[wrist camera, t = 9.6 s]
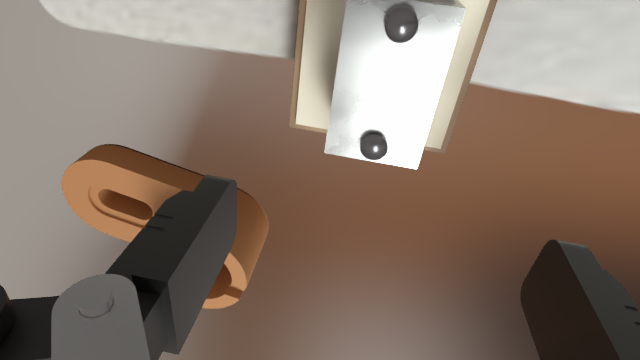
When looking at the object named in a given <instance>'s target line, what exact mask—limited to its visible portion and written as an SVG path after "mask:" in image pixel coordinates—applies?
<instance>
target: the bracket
mask: <svg viewBox="0 0 640 360" xmlns="http://www.w3.org/2000/svg"><path fill="white" fill-rule="evenodd" d="M204 176H205V175H202V174H199V173H197V172H194V171H191V170H188V169H186V168H183V167H180V166H178V165H175V164H172V163H169V162H167V161H164V160H161V159H158V158H156V157H153V156H150V155H148V154H145V153H142V152H139V151H137V150H134V149H131V148H128V147H125V146H122V145H117V144H104V145H100V146H97V147H95V148H93V149H91V150H90V151H89V152H87V153H86V154H85V155H83V156H82V157H81V158H79V159H78V160H77V161H75V162H74V163H73V164H72V165H70V166H69V167H68V168H67V169H66V170H65V172H64V174H63V177H62V190H63V193H64V196H65V199H66V201H67V202H68V204H69V206H70V207H71V208H72V210H73V211H74V212H75V213H76V214H77V215H78V216H79V217H80V218H81V219H82V220H83V221H84V222H86V223H87V224H88V225H90V226H91V227H93V228H95V229H97V230H99V231H101V232H103V233H105V234H108V235H111V236H114V237H117V238H120V239H122V240H125V241H128V242H132V240H133V239H134V238H135V237H136V235H137V234H138V233H139V232H140V231H141V229H142V228H145V225H146V223H147V222H148V221H149V220H150V218H151V217H152V216H153V217H154V214H155V212H156V211H157V210H158V209H159V208H160V206H161V205H162V204H163V203H164V202H165V200H167V199H168V198H170V197H172V196H174V195H175V194H177V193H179V192H180V191H182V190H186V191H191V192H193V191H194V190H195V188H196V187H197V186H198V184H199V183H200V182H201V180H202V179H203V178H204ZM267 232H268V219H267V216H266V213H265V211H264V210H263V208H262V206H261V205H260V204H259V203H258V201H256V199H255V198H253V197H252V196H251V195H250V194H248V193H247V192H245V191H243V190H242V189H239V188H237V230H236V236H235V240H234V243H233V246H232V248H231V250H230V252H229V254H228V256H227V258H226V260H225V262H224V264H223V266H222V268H221V270H220V272H219V274H218V276H217V278H216V280H215V282H214V284H213V286H212V288H211V290H210V292H209V294H208V296H207V298H206V300H205V302H204V304H203V306H202V308H209V309H216V308H223V307H227V306H230V305H232V304H234V303H236V302H237V301H238V300H239V299H240V297H241V294H242V292H243V291H244V290H245V289H246V287H247V284H248V282H249V279H250V277H251V274H252V271H253V269H254V266H255V264H256V261H257V259H258V256H259V253H260V251H261V248H262V246H263V243H264V241H265V238H266V235H267Z"/></svg>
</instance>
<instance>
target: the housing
mask: <svg viewBox="0 0 640 360" xmlns="http://www.w3.org/2000/svg"><path fill="white" fill-rule="evenodd" d="M465 11H466V8H465V7H464V6H463V5H462V4H461V3H460V2H459V0H347V1H346V8H345V14H344V21H343V28H342V35H341V42H340V49H339V56H338V62H337V69H336V76H335V83H334V90H333V97H332V104H331V110H330V117H329V124H328V131H327V138H326V145H325V153H328V154H333V155H339V156H345V157H350V158H356V159H362V160H367V161H373V162H378V163H384V164H390V165H395V166H401V167H407V168H412V169H417V168H418V164H419V161H420V158H421V155H422V152H423V148H424V145H425V142H426V138H427V135H428V132H429V129H430V125H431V122H432V119H433V116H434V112H435V109H436V106H437V102H438V99H439V96H440V93H441V89H442V86H443V83H444V80H445V76H446V73H447V70H448V66H449V63H450V60H451V57H452V53H453V50H454V47H455V44H456V40H457V37H458V34H459V30H460V27H461V24H462V21H463V17H464V14H465Z"/></svg>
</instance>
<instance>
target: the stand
mask: <svg viewBox="0 0 640 360" xmlns="http://www.w3.org/2000/svg"><path fill="white" fill-rule="evenodd" d="M346 1H347V0H299V12H298V25H297V37H296V49H295V61H294V74H293V86H292V99H291V110H290V111H291V112H290V123H289V127H293V128H299V129H305V130H310V131H316V132H323V133H327V131H328V124H329V117H330V110H331V104H332V97H333V90H334V83H335V76H336V69H337V62H338V56H339V49H340V42H341V35H342V28H343V21H344V14H345V8H346ZM459 2H460V3H461V4H462V5H463V6H464V7H465V8H466V11H465V14H464V17H463V21H462V24H461V27H460V30H459V34H458V37H457V40H456V44H455V47H454V50H453V53H452V57H451V60H450V63H449V66H448V70H447V73H446V76H445V80H444V83H443V86H442V89H441V93H440V96H439V99H438V102H437V106H436V109H435V112H434V116H433V119H432V122H431V125H430V129H429V132H428V135H427V138H426V142H425V145H424V148H423V150H427V151H433V152H439V153H444V154H445V152H446V150H447V147H448V144H449V141H450V138H451V135H452V132H453V129H454V126H455V123H456V120H457V117H458V114H459V111H460V108H461V106H462V103H463V100H464V97H465V94H466V91H467V88H468V85H469V82H470V79H471V76H472V73H473V70H474V67H475V65H476V62H477V59H478V56H479V53H480V50H481V47H482V44H483V41H484V38H485V35H486V32H487V29H488V26H489V23H490V20H491V18H492V15H493V12H494V9H495V6H496V3H497V0H459Z"/></svg>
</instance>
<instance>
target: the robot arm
mask: <svg viewBox="0 0 640 360" xmlns="http://www.w3.org/2000/svg"><path fill="white" fill-rule="evenodd" d="M236 185H237V184H236V181H235V180H232V179H226V178H221V177H216V176H210V175H206V176H204V178H203V179H202V180H201V182H200V183H199V184H198V186H197V187H196V188H195V190H194V191H193V192H191V191H186V190H182V191H180V192H179V193H177V194H175V195H174V196H172V197H170V198H168V199H167V200H165V202H164V203H163V204H162V205H161V206H160V208H159V209H158V210H157V211H156V212H155V214H154V217H153V216H152V217H151V218H150V220H149V221H148V222H147V223H146V225H145V228H142V229H141V231H140V232H139V233H138V234H137V235H136V237H135V238H134V239H133V240H132V242H131V243H130V244H129V245H128V246H127V248H126V249H125V250H124V251H123V253H122V254H121V255H120V256H119V257H118V259H117V260H116V261H115V262H114V263H113V265H112V266H111V267H110V268H109V269H108V271H107V272H106V273H105V274H100V275H95V276H92V277H88V278H85V279H83V280H80V281H79V282H77V283H75V284H73V285H72V286H70V287H69V288H68V289H66V290H65V291H64V292H63V293H62V294H61V295H60V296H54V297H41V298H29V299H13V300H10V299H9V298H8V295H7V293H6V291H5V290H4V288H3V287H2V286H1V285H0V360H158V359H159V357H160V355H161V354H162V352H163V351H165V352H169V353H174V354H179V352H180V350H181V348H182V346H183V344H184V342H185V340H186V338H187V336H188V334H189V332H190V330H191V328H192V326H193V324H194V322H195V320H196V318H197V316H198V314H199V312H200V310H201V308H202V306H203V304H204V302H205V300H206V298H207V296H208V294H209V292H210V290H211V288H212V286H213V284H214V282H215V280H216V278H217V276H218V274H219V272H220V270H221V268H222V266H223V264H224V262H225V260H226V258H227V256H228V254H229V252H230V250H231V248H232V246H233V243H234V240H235V236H236V230H237V186H236ZM521 305H522V308H523V311H524V314H525V317H526V320H527V323H528V326H529V329H530V332H531V335H532V337H533V340H534V343H535V346H536V349H537V352H538V355H539V358H540V360H640V312H638V307H637V305H636V304H635V302H634V301H633V299H632V298H631V296H630V295H629V293H628V291H627V290H626V288H624V287H623V286H622V285H621V284H620V283H619V282H618V281H617V280H616V279H615V278H614V277H613V276H612V275H610V274H609V273H608V272H607V271H606V270H602V269H601V267H600V265H599V264H598V262H597V260H596V259H595V257H594V255H593V254H592V252H591V251H590V249H589V248H588V247H587V246H585V245H579V244H574V243H569V242H563V241H557V240H550V241H548V242H547V243H546V244H545V246H544V247H543V249H542V250H541V252H540V254H539V256H538V257H537V259H536V261H535V262H534V264H533V266H532V267H531V269H530V271H529V273H528V274H527V276H526V278H525V279H524V282H523V284H522V287H521Z"/></svg>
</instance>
